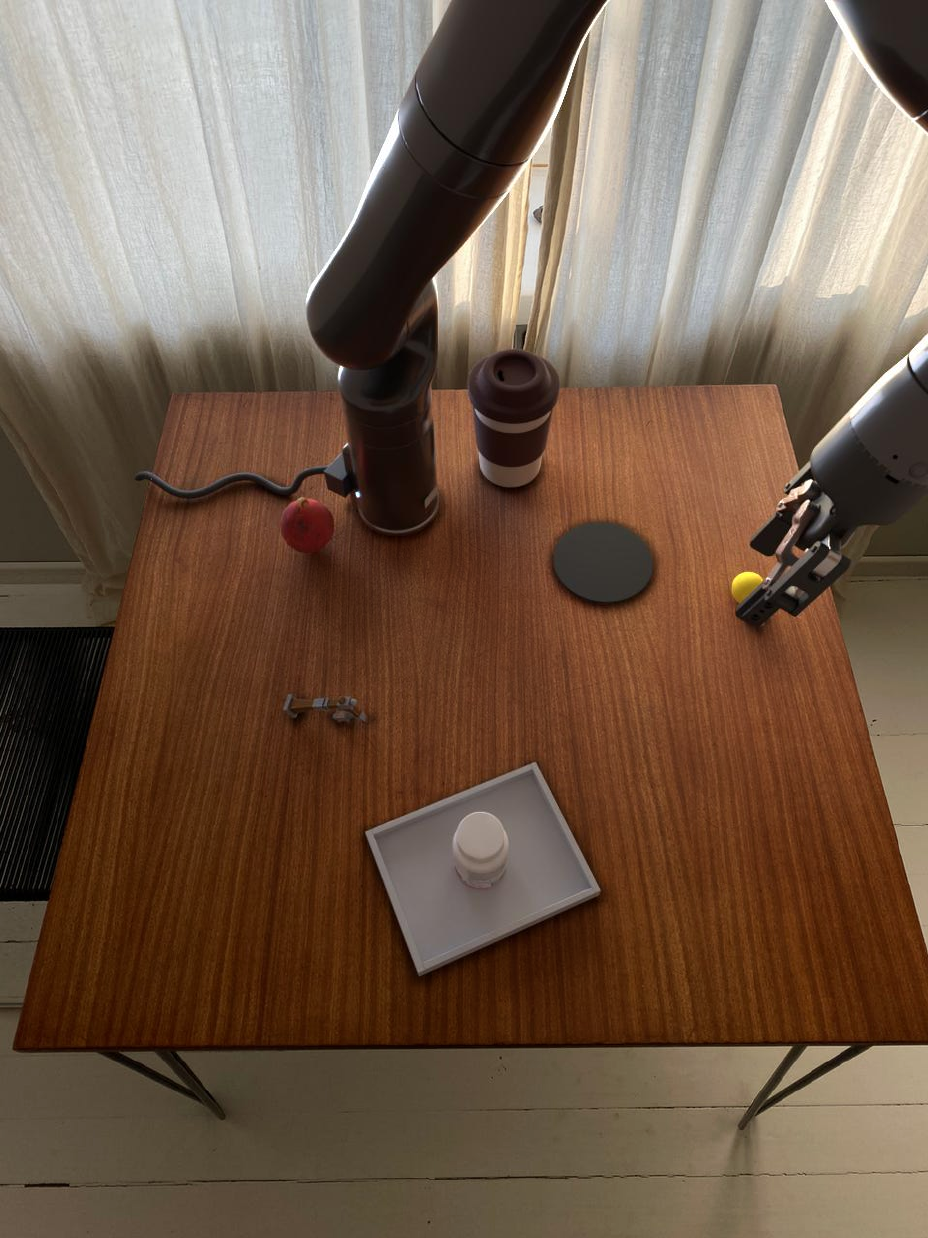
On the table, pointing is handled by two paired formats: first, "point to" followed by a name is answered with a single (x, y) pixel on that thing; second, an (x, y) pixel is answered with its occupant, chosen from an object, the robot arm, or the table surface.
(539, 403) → the coffee cup
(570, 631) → the table surface
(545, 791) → the tray
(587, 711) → the table surface
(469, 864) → the pill bottle
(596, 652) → the table surface
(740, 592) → the light bulb
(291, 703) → the wooden post with brackets
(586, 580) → the mat
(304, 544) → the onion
